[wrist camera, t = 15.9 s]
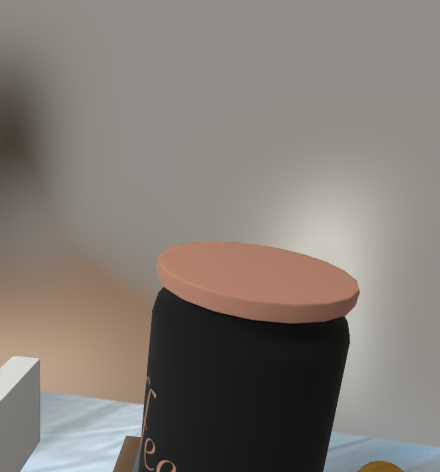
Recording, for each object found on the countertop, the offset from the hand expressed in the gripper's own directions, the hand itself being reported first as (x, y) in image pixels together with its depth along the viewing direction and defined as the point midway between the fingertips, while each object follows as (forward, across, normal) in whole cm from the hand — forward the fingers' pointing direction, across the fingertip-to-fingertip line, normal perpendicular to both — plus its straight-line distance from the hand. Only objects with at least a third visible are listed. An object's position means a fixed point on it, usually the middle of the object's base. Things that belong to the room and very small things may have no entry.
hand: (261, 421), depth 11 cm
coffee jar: (+10, 0, -16) cm, 19 cm away
